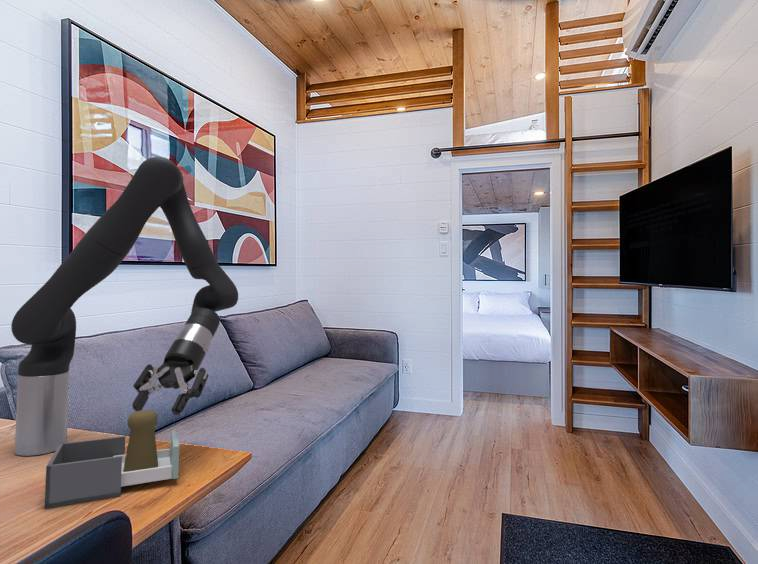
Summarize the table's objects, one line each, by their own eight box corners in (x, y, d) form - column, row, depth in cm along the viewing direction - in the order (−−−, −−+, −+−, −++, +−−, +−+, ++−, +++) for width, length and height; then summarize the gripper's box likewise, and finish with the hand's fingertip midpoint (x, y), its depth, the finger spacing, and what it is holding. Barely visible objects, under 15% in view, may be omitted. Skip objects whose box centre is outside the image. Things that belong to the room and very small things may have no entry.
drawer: (175, 458, 92) (176, 429, 92) (178, 478, 82) (179, 446, 82) (113, 466, 86) (114, 436, 87) (108, 489, 77) (109, 455, 77)
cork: (147, 475, 81) (149, 416, 82) (115, 473, 81) (118, 415, 82) (164, 462, 87) (166, 407, 88) (135, 461, 88) (137, 406, 88)
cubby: (124, 470, 88) (125, 435, 88) (120, 496, 77) (121, 456, 77) (58, 480, 83) (59, 443, 83) (44, 509, 72) (46, 466, 72)
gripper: (154, 336, 98) (114, 399, 86) (213, 339, 96) (180, 404, 84) (167, 356, 103) (131, 418, 91) (224, 359, 101) (194, 423, 89)
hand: (155, 411), depth 88 cm, fingers open, 8 cm apart
